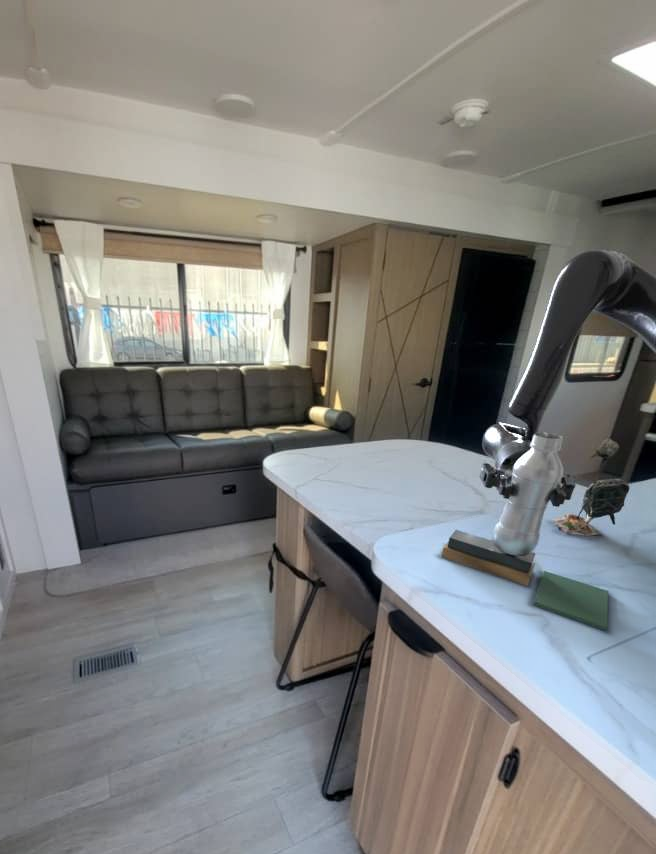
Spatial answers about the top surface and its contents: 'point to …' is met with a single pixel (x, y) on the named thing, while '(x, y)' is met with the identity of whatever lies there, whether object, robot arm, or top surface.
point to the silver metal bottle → (529, 496)
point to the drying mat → (573, 599)
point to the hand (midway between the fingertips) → (533, 496)
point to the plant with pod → (597, 497)
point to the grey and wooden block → (488, 557)
